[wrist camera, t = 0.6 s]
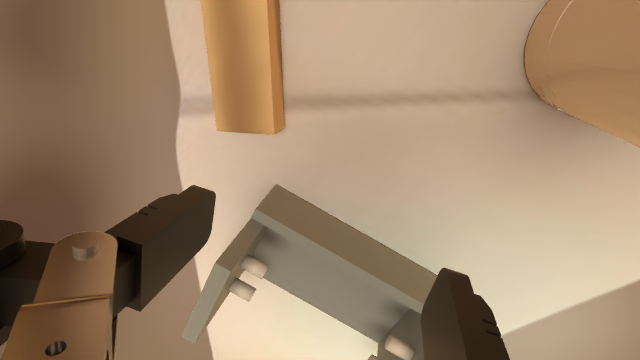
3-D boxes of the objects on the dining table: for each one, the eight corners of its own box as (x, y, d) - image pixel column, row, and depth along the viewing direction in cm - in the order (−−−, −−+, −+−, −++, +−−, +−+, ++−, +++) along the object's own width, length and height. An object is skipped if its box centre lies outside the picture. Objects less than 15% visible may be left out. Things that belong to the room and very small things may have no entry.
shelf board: (277, -68, 24) (262, -81, 21) (285, 125, 29) (274, 134, 27) (213, -64, 25) (191, -76, 22) (233, 122, 30) (216, 131, 28)
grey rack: (276, 184, 31) (219, 252, 22) (443, 278, 31) (462, 389, 22) (241, 253, 36) (181, 337, 26) (389, 336, 36) (384, 451, 26)
